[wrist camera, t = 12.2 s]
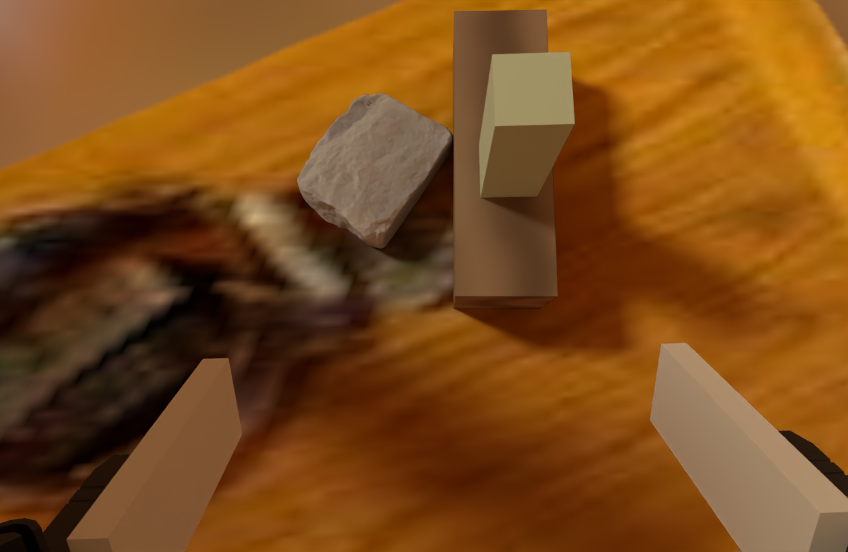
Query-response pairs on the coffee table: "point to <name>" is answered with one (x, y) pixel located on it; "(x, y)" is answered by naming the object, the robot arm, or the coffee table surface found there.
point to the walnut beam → (472, 215)
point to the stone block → (374, 167)
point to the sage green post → (524, 122)
